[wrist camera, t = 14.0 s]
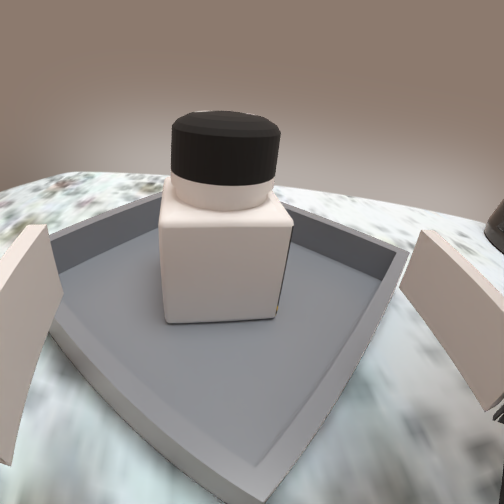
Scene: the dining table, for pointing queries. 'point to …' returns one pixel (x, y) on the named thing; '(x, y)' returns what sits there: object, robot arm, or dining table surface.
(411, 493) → the dining table surface
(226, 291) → the medicine bottle
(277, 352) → the box
